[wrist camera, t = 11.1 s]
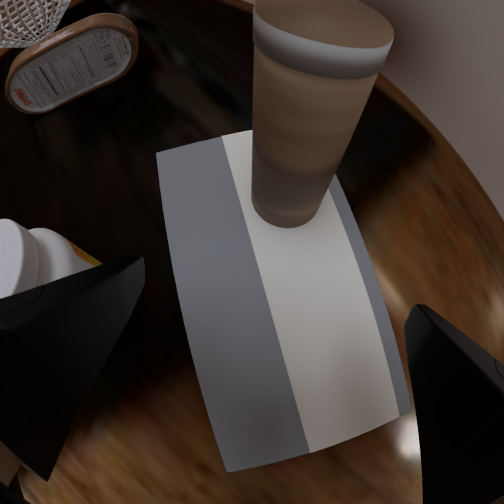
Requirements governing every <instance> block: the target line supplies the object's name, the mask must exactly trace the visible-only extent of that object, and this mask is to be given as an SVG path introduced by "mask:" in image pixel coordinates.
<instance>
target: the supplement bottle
mask: <svg viewBox="0 0 504 504" xmlns="http://www.w3.org/2000/svg"><path fill="white" fill-rule="evenodd" d="M101 264H102V263H101V262H99V261H98V260H96V259H94V258H93V257H91V256H90V255H88V254H87V253H85V252H84V251H83V250H81V249H80V248H78V247H77V246H75V245H74V244H73V243H71V242H70V241H68V240H67V239H66V238H64V237H62V236H61V235H59V234H57V233H56V232H54V231H52V230H49V229H45V228H35V229H31V230H27V229H25V228H23V227H22V226H20V225H19V224H17V223H15V222H14V221H12V220H9V219H1V220H0V298H4V297H7V296H10V295H14V294H17V293H20V292H23V291H26V290H29V289H32V288H35V287H38V286H40V285H43V284H45V285H46V283H49V282H52V281H55V280H57V279H60V278H63V277H66V276H69V275H72V274H75V273H78V272H81V271H83V270H86V269H89V268H92V267H95V266H98V265H101Z"/></svg>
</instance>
